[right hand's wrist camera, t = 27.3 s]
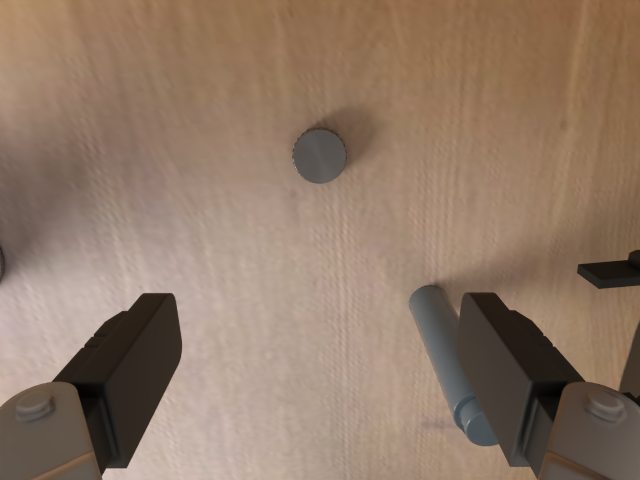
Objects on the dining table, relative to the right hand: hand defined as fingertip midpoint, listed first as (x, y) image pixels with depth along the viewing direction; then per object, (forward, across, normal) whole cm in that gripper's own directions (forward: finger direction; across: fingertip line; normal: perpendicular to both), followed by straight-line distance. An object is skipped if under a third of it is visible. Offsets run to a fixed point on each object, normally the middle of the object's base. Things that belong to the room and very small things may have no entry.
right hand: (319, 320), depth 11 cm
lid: (+26, 0, 0) cm, 26 cm away
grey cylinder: (+27, +12, -16) cm, 34 cm away
